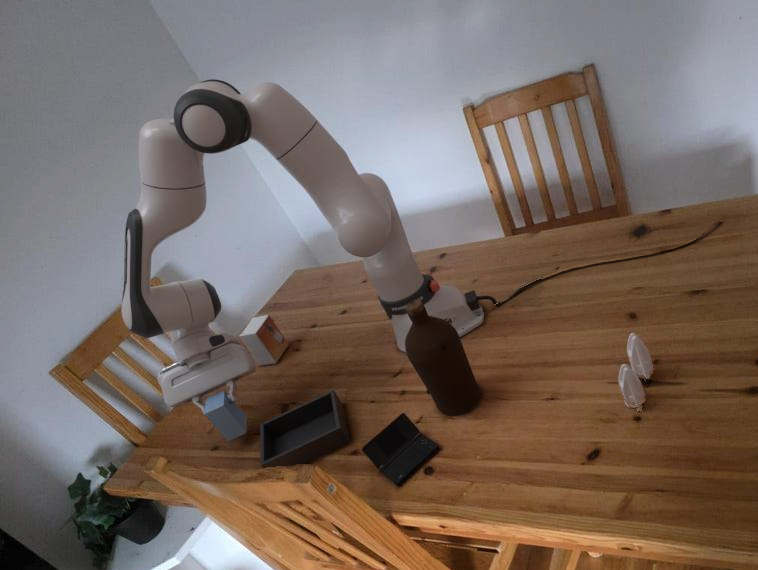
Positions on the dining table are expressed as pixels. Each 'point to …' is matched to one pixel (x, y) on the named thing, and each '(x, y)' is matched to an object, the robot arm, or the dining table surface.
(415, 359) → the olive oil
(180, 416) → the dining table surface
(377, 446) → the handheld gaming console
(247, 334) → the small box
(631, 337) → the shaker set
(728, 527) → the dining table surface
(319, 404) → the tote
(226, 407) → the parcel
